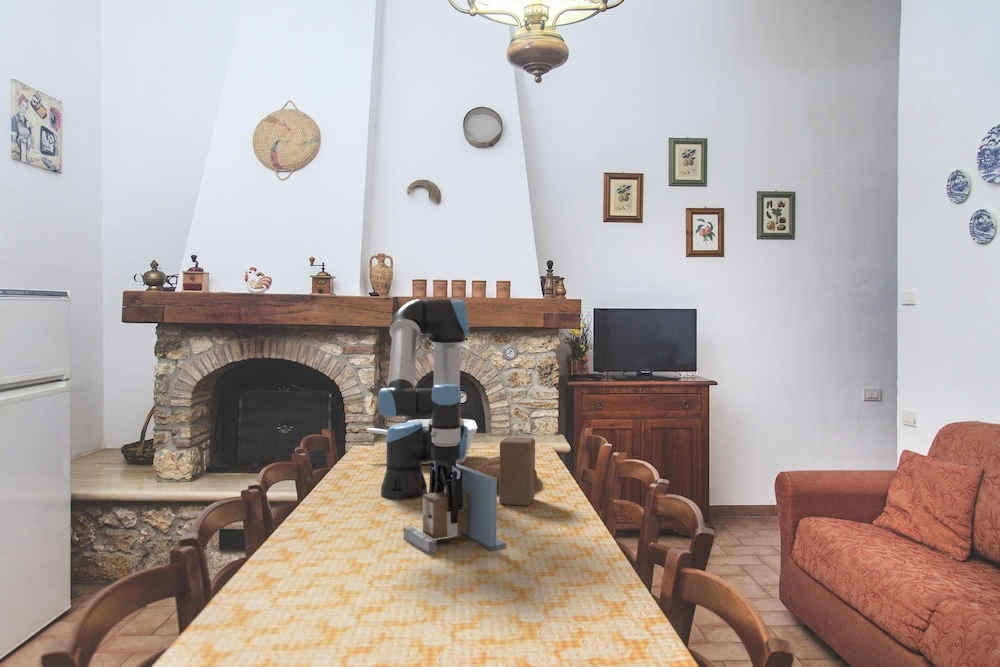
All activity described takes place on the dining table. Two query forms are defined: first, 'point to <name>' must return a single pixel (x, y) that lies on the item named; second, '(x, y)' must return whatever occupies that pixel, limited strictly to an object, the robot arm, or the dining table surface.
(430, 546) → the cleat rail
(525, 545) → the dining table surface
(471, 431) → the pot
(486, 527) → the wall board
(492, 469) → the bread
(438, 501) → the wooden box
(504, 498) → the wooden block
